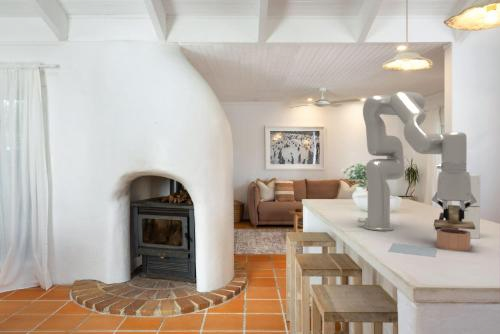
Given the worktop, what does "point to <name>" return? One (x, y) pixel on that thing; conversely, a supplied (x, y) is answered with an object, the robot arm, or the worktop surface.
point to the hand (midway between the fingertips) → (453, 220)
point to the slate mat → (413, 250)
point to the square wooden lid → (454, 219)
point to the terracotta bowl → (453, 239)
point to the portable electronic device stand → (443, 227)
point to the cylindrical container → (473, 208)
